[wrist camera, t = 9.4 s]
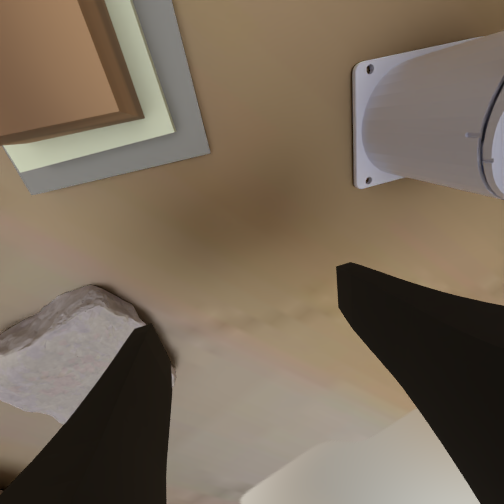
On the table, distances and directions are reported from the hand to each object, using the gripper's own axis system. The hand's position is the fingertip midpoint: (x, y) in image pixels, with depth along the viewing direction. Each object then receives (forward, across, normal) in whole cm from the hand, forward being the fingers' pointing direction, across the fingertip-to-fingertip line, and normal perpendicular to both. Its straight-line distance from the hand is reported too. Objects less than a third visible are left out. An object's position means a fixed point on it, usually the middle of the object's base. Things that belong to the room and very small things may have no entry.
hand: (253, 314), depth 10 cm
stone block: (+11, +12, +8) cm, 18 cm away
